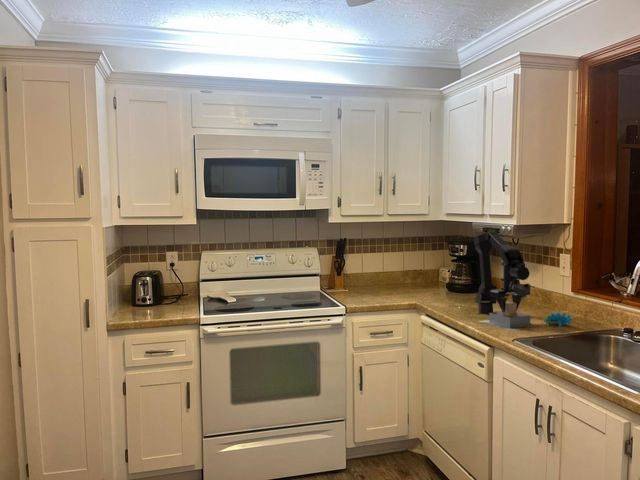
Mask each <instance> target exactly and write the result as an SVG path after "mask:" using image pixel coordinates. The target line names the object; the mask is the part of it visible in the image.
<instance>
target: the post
mask: <svg viewBox="0 0 640 480" xmlns="http://www.w3.org/2000/svg"><path fill="white" fill-rule="evenodd" d="M517 312H518V309H517V303H514V302H513V301H506V306H505V312H503V314H506V315H509V316H510V315H516V314H517Z"/></svg>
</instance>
